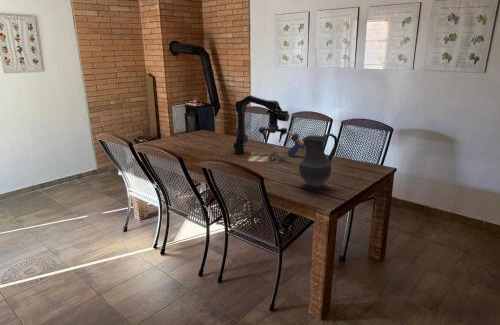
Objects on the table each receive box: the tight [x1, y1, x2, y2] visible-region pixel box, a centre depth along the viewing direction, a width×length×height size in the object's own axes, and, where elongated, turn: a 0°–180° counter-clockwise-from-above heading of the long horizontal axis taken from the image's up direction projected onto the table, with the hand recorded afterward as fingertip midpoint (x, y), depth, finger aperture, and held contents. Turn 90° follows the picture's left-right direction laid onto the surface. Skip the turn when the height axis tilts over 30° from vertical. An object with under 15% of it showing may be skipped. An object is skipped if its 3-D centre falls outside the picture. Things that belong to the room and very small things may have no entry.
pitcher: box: [298, 132, 339, 191], centre depth 187 cm, size 17×21×30 cm
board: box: [247, 152, 281, 164], centre depth 239 cm, size 21×14×4 cm, turn 78°
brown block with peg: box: [269, 149, 279, 160], centre depth 237 cm, size 4×10×5 cm, turn 168°
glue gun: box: [287, 130, 306, 158], centre depth 246 cm, size 6×31×15 cm
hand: (272, 142), depth 236 cm, fingers open, 9 cm apart
